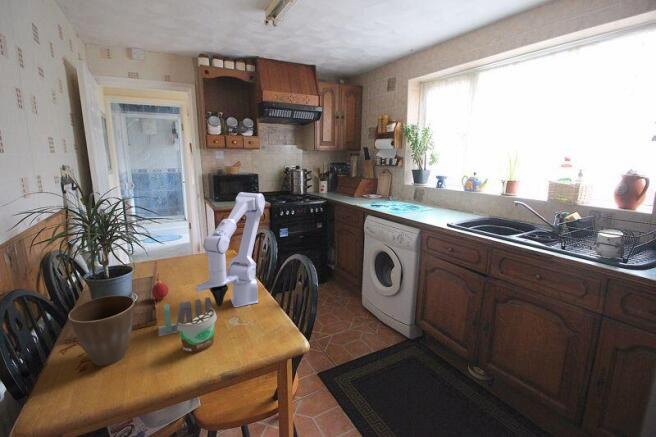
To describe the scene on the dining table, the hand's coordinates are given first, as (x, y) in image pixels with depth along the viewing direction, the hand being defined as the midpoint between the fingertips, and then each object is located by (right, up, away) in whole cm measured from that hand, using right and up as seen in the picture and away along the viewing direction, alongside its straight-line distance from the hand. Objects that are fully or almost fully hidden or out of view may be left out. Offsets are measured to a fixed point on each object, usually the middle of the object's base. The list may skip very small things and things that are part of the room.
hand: (219, 305), depth 111 cm
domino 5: (-3, -6, 0) cm, 7 cm away
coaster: (-15, -7, -6) cm, 17 cm away
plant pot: (-24, -10, -21) cm, 33 cm away
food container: (0, -9, -15) cm, 17 cm away
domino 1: (-15, -6, -6) cm, 17 cm away
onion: (-28, -2, +14) cm, 32 cm away
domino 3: (-9, -6, -3) cm, 11 cm away
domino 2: (-12, -6, -5) cm, 14 cm away
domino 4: (-6, -6, -2) cm, 9 cm away
